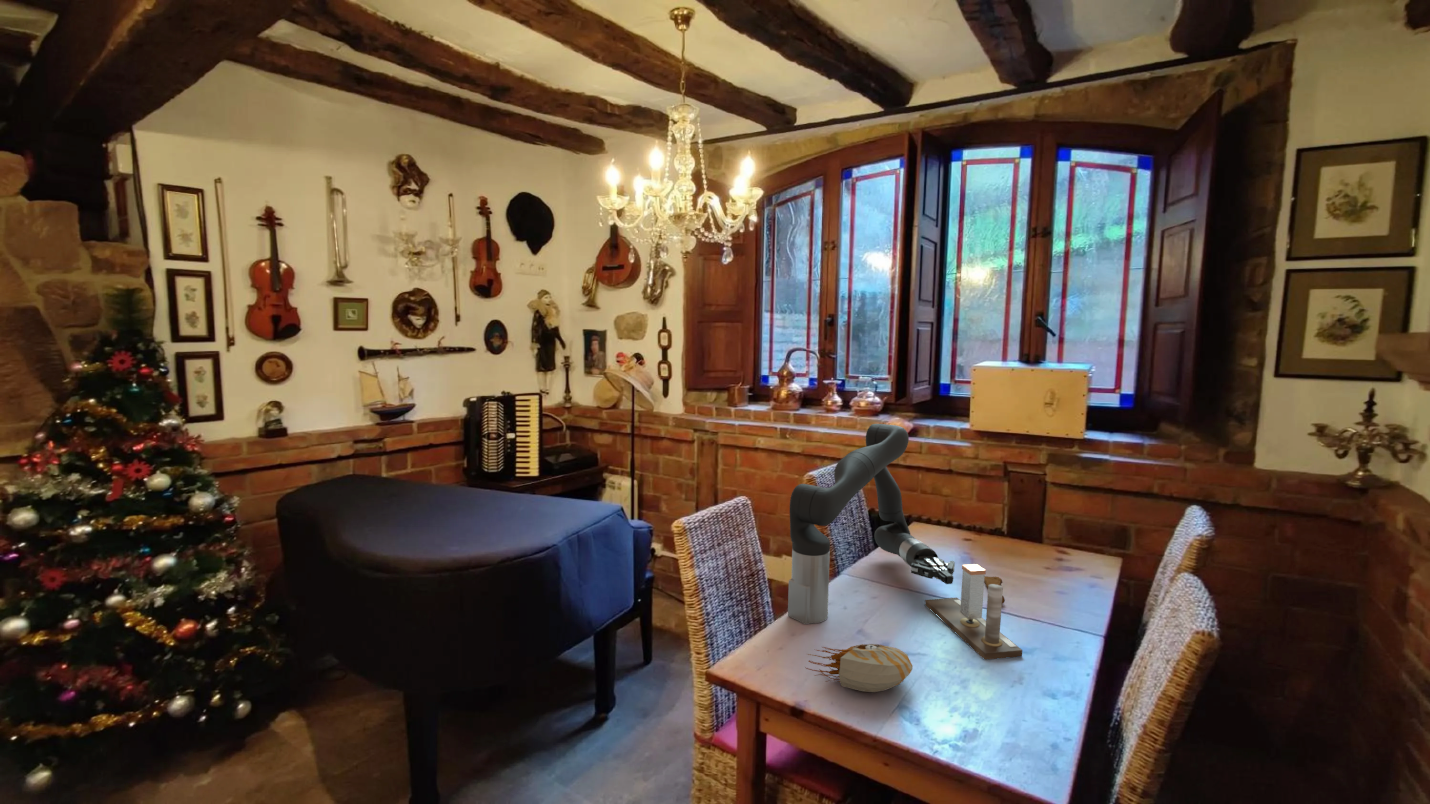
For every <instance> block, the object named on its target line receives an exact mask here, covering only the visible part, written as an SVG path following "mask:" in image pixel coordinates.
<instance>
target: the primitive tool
mask: <svg viewBox="0 0 1430 804" xmlns="http://www.w3.org/2000/svg"><path fill="white" fill-rule="evenodd" d="M1002 583H1003V580H1002V578H1001V577H999V576H987V575H986V576H984V585H985V587H986V588H987V589H988V585H990V584H996V585H1000V586H1001V584H1002ZM1005 600H1006V599H1005V597H1004V595H1003V594H1002V605H1003V604H1004V603H1005Z"/></svg>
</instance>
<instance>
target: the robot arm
mask: <svg viewBox="0 0 1430 804" xmlns="http://www.w3.org/2000/svg"><path fill="white" fill-rule="evenodd" d="M865 445H866V446H864V447H860V448H857V449H856V448H855V450H852V451H850V452H849V453H847V454H846V455H845V456H844V457H843V458H841V459H840V460H839V461H838V462H837V464H836V465H835V467H834V471H833V472H834V474H833V475H834V477H833V478H834V482H835V483H834V484H833V485H831V486H830V487H822V486H819V485H812V484H807V483H800V484H798V485H796V486H795V487H794V489H793V490H792V492H791V495H790V500H789V528H790V530H789V531H790V532H789V534H790V535H789V536H790V540H791V544H792V546H791V548H792V549H791V550H792V551H791V578H790V579H789V580H788V592H787V593H788V594H787V595H788V596H787V599H788V601H787V603H788V604H787V616H788V617H789V618H792V619H794V620H795V621H798V622H800V623H802V624H803V625H808V624H819V623H822V622H825V621H826V620H827V619H828V618H829V617H828V615H829V588H830V587H829V586H830V584H829V583H830V580H829V579H830V559H831V558H830V556H831V555H830V554H831V553H830V552H831V542H830V541H831V540H830V538H829V537H828V536H827V535H825V534H824V533H823V532H821V531H820V530H819V529H818V528H817V527H816V526H819V527H825V526H830V525H831V524H832V523H833V522H834V521H836V519H837V518H838V516H839V515H840V514H841V512H842V511H843V510H844V508H845V507H846V506H847V505H848V503H849V502H850V501H851V500H852V499H853V498H854V497H856V495H857V494H858V493H859V492H860V491H861V490H862V489H863V488H864V487H866V485H868V484H869V483H870V482H871V481H872V480H874V483H875V490H876V496H877V508H878V515H879V516H878V517H880V519H881V520H882V521H885V522H890V523H889V524H885V525H880V526H878V527H877V528H876V530H874V534H873V535H874V541H875V543H876V544H877V546H878V547H879V548H880V549H881V550H883V551H885V552H887V553H890V554H893V555H897V556H898V557H900V558H901V560H902V561H903V562H904V563H905V564H907V565H908V567H910V573H911V574H912V575H913V574H914V575H917V576H920V577H924V578H927V579H933V578H934V579H936V580H940V581H941V583H942V582H943V583H944V584H946V585H953V582H954V572H955V565H956V562H955V561H953V560H950V561H949V562H945V560H943V559H941V558H939V556H938V554H937V552H936V551H935V550H933V549H932V548H931V547H930V546H929V545H927V544H925V543H924V542H923V541H921V540H919V539H917V538H915V536H913V535H912V534H911V531H910V529H909V526H908V524H907V522H906V521H907V520H906V518H905V515H904V511H903V510H904V509H903V501H902V499H903V498H902V493H901V489H900V487H899V485H898V483H897V482H896V480H895V478H894V477H893V475H892V474H891V472H890V471H889V468H888V467H887V466H888V465H890V464H891V463H893V462H894V461H896V460H897V459H899V458H900V457H901V456H902V455H904V454H905V452H906V450H907V448H908V445H909V434H908V430H906V429H905V428H904V427H902V426H900V425H896V424H887V423H885V424H884V423H872V424H871V425H870V426H869V427H868V428H867V430H866V434H865ZM892 522H894V523H892Z"/></svg>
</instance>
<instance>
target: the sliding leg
mask: <svg viewBox="0 0 1430 804" xmlns="http://www.w3.org/2000/svg"><path fill="white" fill-rule="evenodd" d="M961 570H962V577H961V594H960V600H961V608H960V613H961V614H962V615H964V616H965V617H966V618H967V619H968V621H969V622H973V619H979V618H983V606H984V605H983V603H984V589H985V583H984V576H985V575H986V573H987V571H986V569H985V568H983V567H981V566H980V565H979V564H977V563H976V564H975V563H973V564H962V565H961Z"/></svg>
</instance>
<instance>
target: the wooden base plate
mask: <svg viewBox="0 0 1430 804" xmlns="http://www.w3.org/2000/svg"><path fill="white" fill-rule="evenodd" d="M1003 591H1004V587H1003V586H1002V585H1001V584H1000V585H996V584H990V585H988V588H987V601H986V614H985V615H986V616H985V619H984V618H983V617H982V618H979V619H973V622H969V621H968V619H967V618H966V617H965V616H964V615H962V614H961V613H960V608H961V598H960V599H959V597H946V598H945V597H944V598H931V599H925V600H924V606H925V605H926V606H927V607H928V608H929V609H928V608H927V607H926V606H925V607H926V608H927V609H928V610H930V609H931V610H932V611H933V612H934V613H935V614H937V615H938V616H939V617H940V618H941V619H942V620H943V621H944V622H945V623H946V624H947V625H948V626H949V627H950V628H951V630H952V632H954V633H955V632H956V633H957V634H958V635H959V636H960V637H961V638H962V639H963V642H965V643H966V644H967V643H968V644H969V645H970V646H971V647H972V648H973V649H974V650H973V649H972V648H971V647H970V646H969V645H968V644H967V645H968V646H969V647H970V648H971V649H972V650H973V651H974V652H976V653H977V655H979V656H980V658H982V659H983V658H984V659H985V660H987V659H988V660H997V658H999V659H1007V658H1006V657H1010V658H1018V657H1017V656H1022V657H1023V649H1022V648H1021V647H1019V646H1018V645H1017V644H1016V643H1014V642H1013V640H1010V639H1009V638H1008V637H1007V636H1006V635H1004V634H1003V633H1002V632H1001V621H1002V619H1001V618H1002V605H1003V604H1002V595H1003ZM931 610H930V611H931ZM932 611H931V612H932ZM933 612H932V613H933ZM934 613H933V614H934ZM935 614H934V615H935ZM941 619H940V620H941ZM942 620H941V621H942ZM943 621H942V622H943ZM944 622H943V623H944ZM945 623H944V624H945ZM946 624H945V625H946ZM947 625H946V626H947ZM948 626H947V627H948ZM949 627H948V628H949ZM950 628H949V629H950ZM956 633H955V634H956ZM957 634H956V635H957ZM958 635H957V636H958ZM959 636H958V637H959ZM960 637H959V638H960ZM962 639H961V640H962ZM984 659H983V660H984ZM985 660H984V661H985Z"/></svg>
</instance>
